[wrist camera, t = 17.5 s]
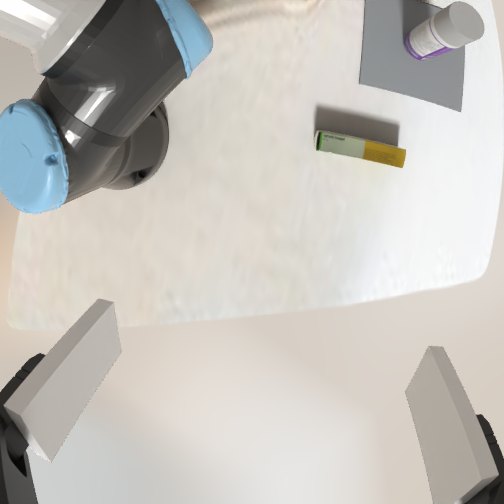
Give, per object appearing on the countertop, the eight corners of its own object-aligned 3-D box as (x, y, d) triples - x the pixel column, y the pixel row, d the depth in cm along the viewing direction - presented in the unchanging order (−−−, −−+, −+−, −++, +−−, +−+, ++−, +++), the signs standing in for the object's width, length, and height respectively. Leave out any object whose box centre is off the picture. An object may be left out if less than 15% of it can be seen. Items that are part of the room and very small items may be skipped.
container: (432, 37, 32) (484, 10, 18) (431, 65, 34) (486, 47, 20) (403, 27, 32) (447, -7, 19) (401, 56, 34) (448, 31, 20)
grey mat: (359, 83, 37) (359, 83, 37) (365, -14, 31) (366, -15, 31) (459, 111, 36) (460, 111, 36) (463, 19, 30) (464, 18, 29)
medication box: (312, 147, 42) (314, 150, 38) (315, 128, 41) (317, 129, 37) (395, 164, 41) (403, 169, 37) (398, 145, 40) (407, 149, 36)
